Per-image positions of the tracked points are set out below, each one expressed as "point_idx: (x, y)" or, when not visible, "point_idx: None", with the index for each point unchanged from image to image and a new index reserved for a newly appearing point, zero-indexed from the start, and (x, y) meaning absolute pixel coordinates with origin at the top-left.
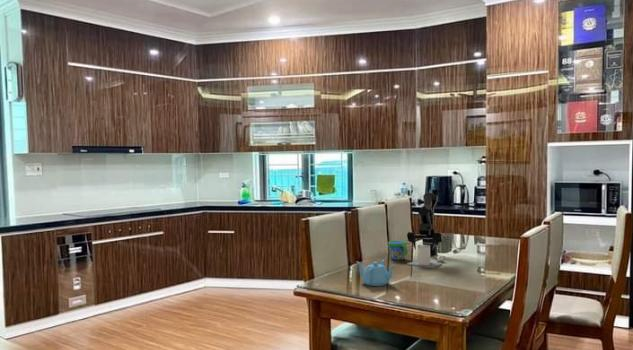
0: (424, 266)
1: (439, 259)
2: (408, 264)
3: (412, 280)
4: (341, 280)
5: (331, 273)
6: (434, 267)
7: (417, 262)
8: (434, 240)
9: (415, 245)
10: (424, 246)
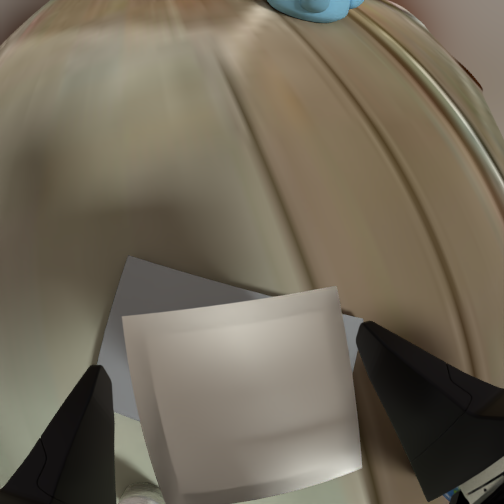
0: (200, 277)
1: (138, 494)
2: (348, 316)
3: (199, 30)
4: (401, 36)
5: (472, 99)
6: (121, 286)
7: None
8: (23, 491)
9: (394, 381)
10: (204, 321)
